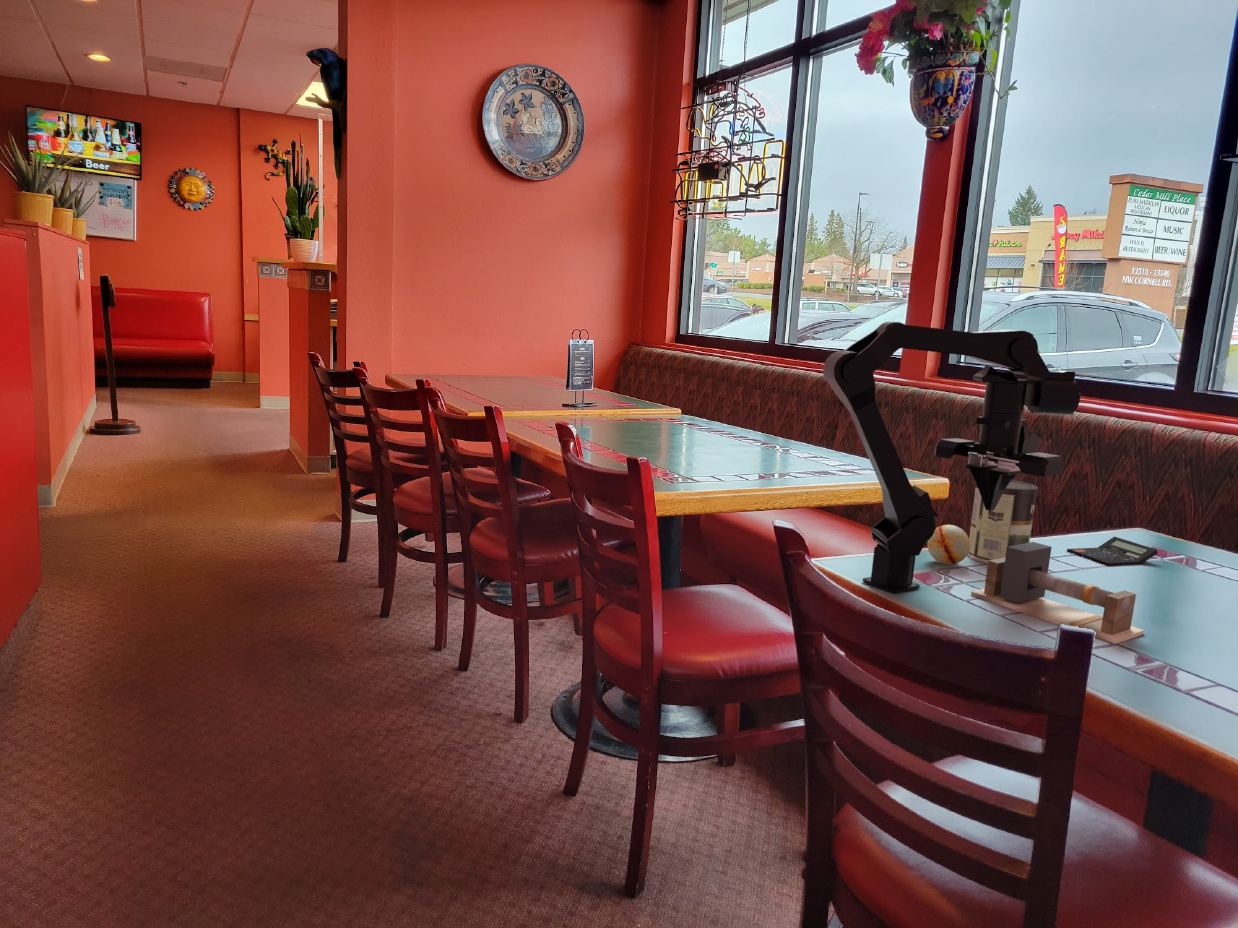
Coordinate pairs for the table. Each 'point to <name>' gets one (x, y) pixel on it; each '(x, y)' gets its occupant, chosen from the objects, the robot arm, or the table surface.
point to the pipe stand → (1107, 627)
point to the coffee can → (1002, 522)
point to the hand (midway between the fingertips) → (989, 510)
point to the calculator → (1117, 553)
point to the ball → (949, 544)
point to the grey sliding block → (1024, 571)
